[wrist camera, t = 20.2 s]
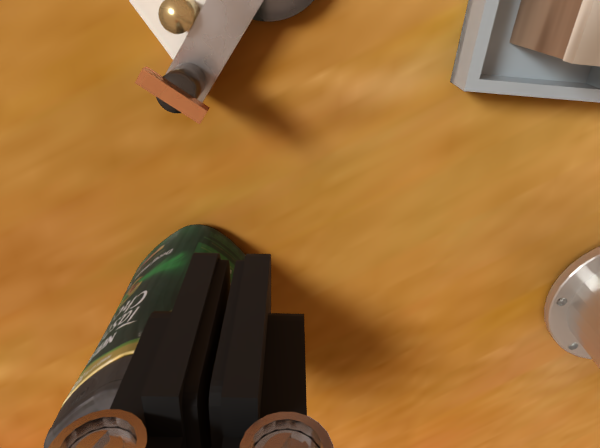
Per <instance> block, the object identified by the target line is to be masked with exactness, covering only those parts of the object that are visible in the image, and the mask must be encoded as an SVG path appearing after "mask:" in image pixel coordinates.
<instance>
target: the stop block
mask: <svg viewBox="0 0 600 448" xmlns="http://www.w3.org/2000/svg"><path fill="white" fill-rule="evenodd" d="M509 43H512V44H515V45H518V46H521V47H525V48H528V49H531V50H534V51H538V52H541V53H544V54H547V55H550V56H554V57H557V58H560V59H563V61H565V62H569V63H572V64H580V65H590V66H600V0H521V2H520V6H519V10H518V13H517V17H516V20H515V24H514V27H513V31H512V35H511V38H510V42H509Z"/></svg>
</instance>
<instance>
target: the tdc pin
mask: <svg viewBox="0 0 600 448" xmlns="http://www.w3.org/2000/svg"><path fill="white" fill-rule="evenodd" d="M199 13H200V9H199V6H198V4H197V3H196V2H195V1H194V0H164V1H163V2H162V3H161V5H160V7H159V12H158V15H159V20H160V23H161V24H162V26H163V27H164V28H165V29H166V30H167V31H168V32H170V33H173V34H182V33H184V32H186V31H188V30H190V29H191V27H192V25H193V23H194V22H195V20H196V18H197V16H198V14H199Z"/></svg>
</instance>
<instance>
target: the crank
mask: <svg viewBox="0 0 600 448" xmlns="http://www.w3.org/2000/svg"><path fill="white" fill-rule="evenodd" d="M263 1H264V0H206V2H205V3H204V5H203V7H202V9H201V11H200V13H199V14H198V16H197V18H196V20H195V22H194V23H193V25H192V27H191V29H190V31H189V33H188V34H187V36H186V38H185V40H184V42H183V44H182V45H181V47H180V49H179V51H178V53H177V54H176V56H175V58H174V60H173V62H172V64H171V65H170V67H169V69H168V71H167V73H166V75H165V76H163V77H162V76H161V75H159V74H158V73H156V72H154V71H153V70H151V69H150V68H148V67H147V66H146V67H145V68H143V69H142V71H141V72H140V74H139V76H138V78H137V80H136V82H135V83H136V84H137V85H139V86H141V87H142V88H144V89H145V90H147V91H148V92H150V93H152V94H153V95H155V96H156V98H157V100H158V102H159V104H160V105H161V106H162V107H163V108H164V109H165V110H167V111H169V112H172V113H183V114H184V115H186V116H188V117H189V118H191V119H192V120H194V121H195V122H197V123H199V124H200V123H201V121H202V119H203V118H204V116H205V115H206V113H207V111H208V110H209V108H210V107H208V106H206V105H205V104H203V101H204V100H205V98H206V96H207V94H208V93H209V91H210V89H211V88H212V86H213V84H214V83H215V81H216V79H217V78H218V76H219V74H220V73H221V71H222V69H223V68H224V66H225V64H226V63H227V61H228V59H229V58H230V56H231V54H232V53H233V51H234V49H235V48H236V46H237V44H238V43H239V41H240V39H241V38H242V36H243V34H244V33H245V31H246V29H247V28H248V26H249V24H250V23H251V21H252V19H253V18H254V16H255V14H256V13H257V11H258V9H259V8H260V6H261V4H262V3H263Z"/></svg>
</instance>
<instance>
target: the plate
mask: <svg viewBox="0 0 600 448" xmlns="http://www.w3.org/2000/svg"><path fill="white" fill-rule="evenodd" d="M129 1H130V3H131V4H132V5H133V7H134V8H135V9H136V11H137V12H138V13H139V15H140V16H141V17H142V19H143V20H144V21H145V23H146V24H147V25H148V27H149V28H150V29H151V31H152V32H153V33H154V35H155V36H156V37H157V39H158V40H159V41H160V43H161V44H162V45H163V47H164V48H165V49H166V51H167V52H168V53H169V55H170V56H171V57H172V59H173V60H174V58H175V56H176V54H177V53H178V51H179V49H180V47H181V45H182V44H183V42H184V40H185V38H186V36H187V34H188V33H189V31H190V30H188V31H186V32H184V33H182V34H173V33H170V32H168V31H167V30H166V29H165V28H164V27H163V26H162V24H161V23H160V20H159V15H158V12H159V7H160V5H161V3H162V2H163V1H164V0H129ZM194 1H195V2H196V3H197V4H198V6H199V9H200V11H201V9H202V7H203V5H204V3H205V2H206V0H194Z"/></svg>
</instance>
